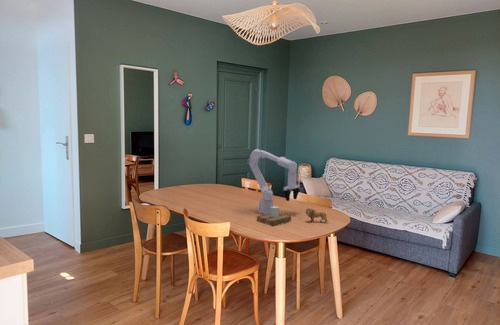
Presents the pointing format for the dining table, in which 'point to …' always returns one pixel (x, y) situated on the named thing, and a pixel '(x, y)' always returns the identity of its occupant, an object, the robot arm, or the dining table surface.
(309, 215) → the lion figurine
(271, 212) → the grey block
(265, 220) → the walnut plinth
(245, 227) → the dining table surface
